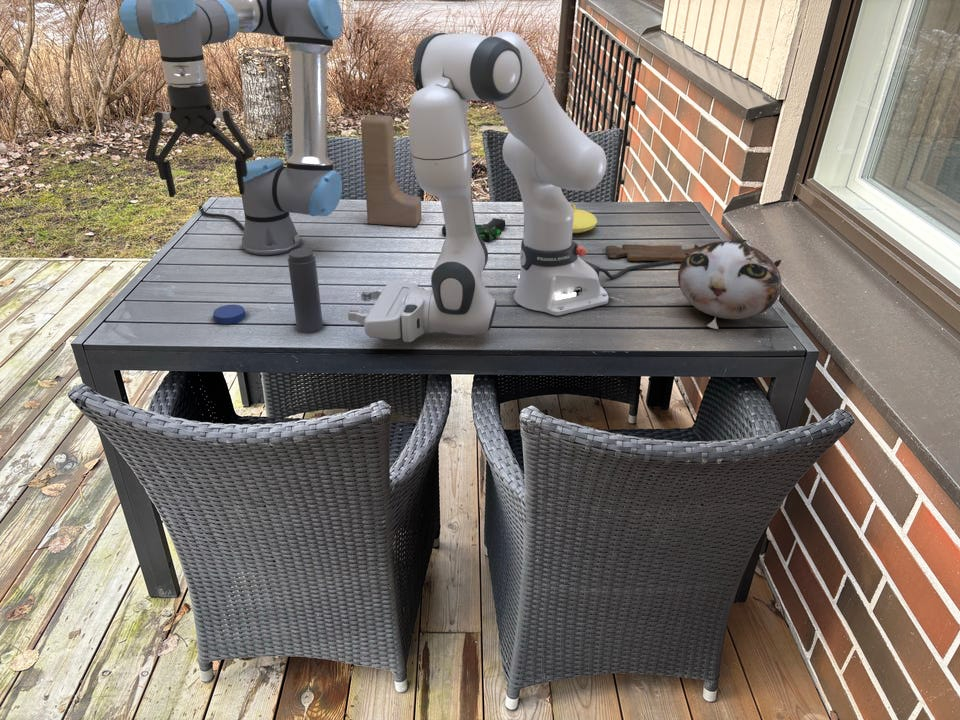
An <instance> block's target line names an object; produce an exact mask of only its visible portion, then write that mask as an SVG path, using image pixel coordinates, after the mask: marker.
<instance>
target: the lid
mask: <svg viewBox="0 0 960 720" xmlns="http://www.w3.org/2000/svg"><path fill="white" fill-rule="evenodd" d="M212 313H213V320H214V322H216V323H218V324H220V325H232V324H237V323H239V322H241V321H243V320H244V319H245V318H246V310H245V308H244V307H243V306H242V305H240V304H225V305H222V306H221V305H220V306H219V307H217V308H215V309H214V310H213V311H212Z"/></svg>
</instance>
